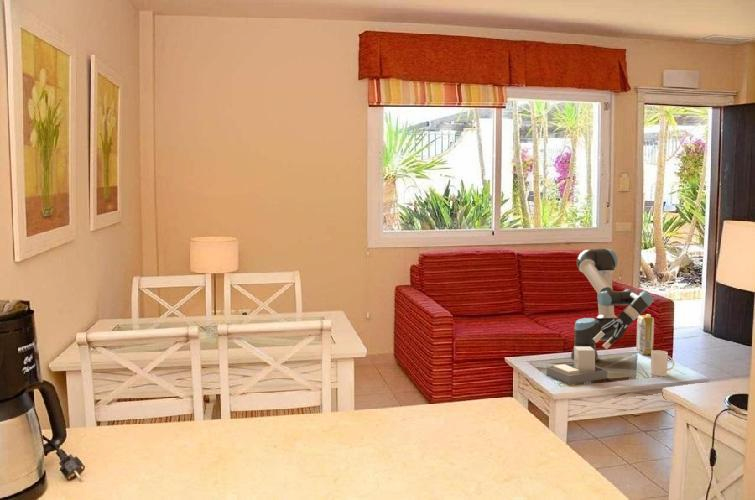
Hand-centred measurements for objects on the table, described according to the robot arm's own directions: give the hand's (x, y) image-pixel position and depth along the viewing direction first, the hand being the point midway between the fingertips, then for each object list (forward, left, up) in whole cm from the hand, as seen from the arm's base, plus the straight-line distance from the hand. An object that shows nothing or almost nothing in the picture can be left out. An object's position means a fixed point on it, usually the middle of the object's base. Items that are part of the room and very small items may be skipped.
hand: (599, 344), depth 334 cm
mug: (+11, +33, -18) cm, 39 cm away
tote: (-3, -12, -18) cm, 21 cm away
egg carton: (-3, -19, -17) cm, 26 cm away
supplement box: (-3, -7, -17) cm, 19 cm away
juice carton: (-25, +58, -18) cm, 66 cm away
